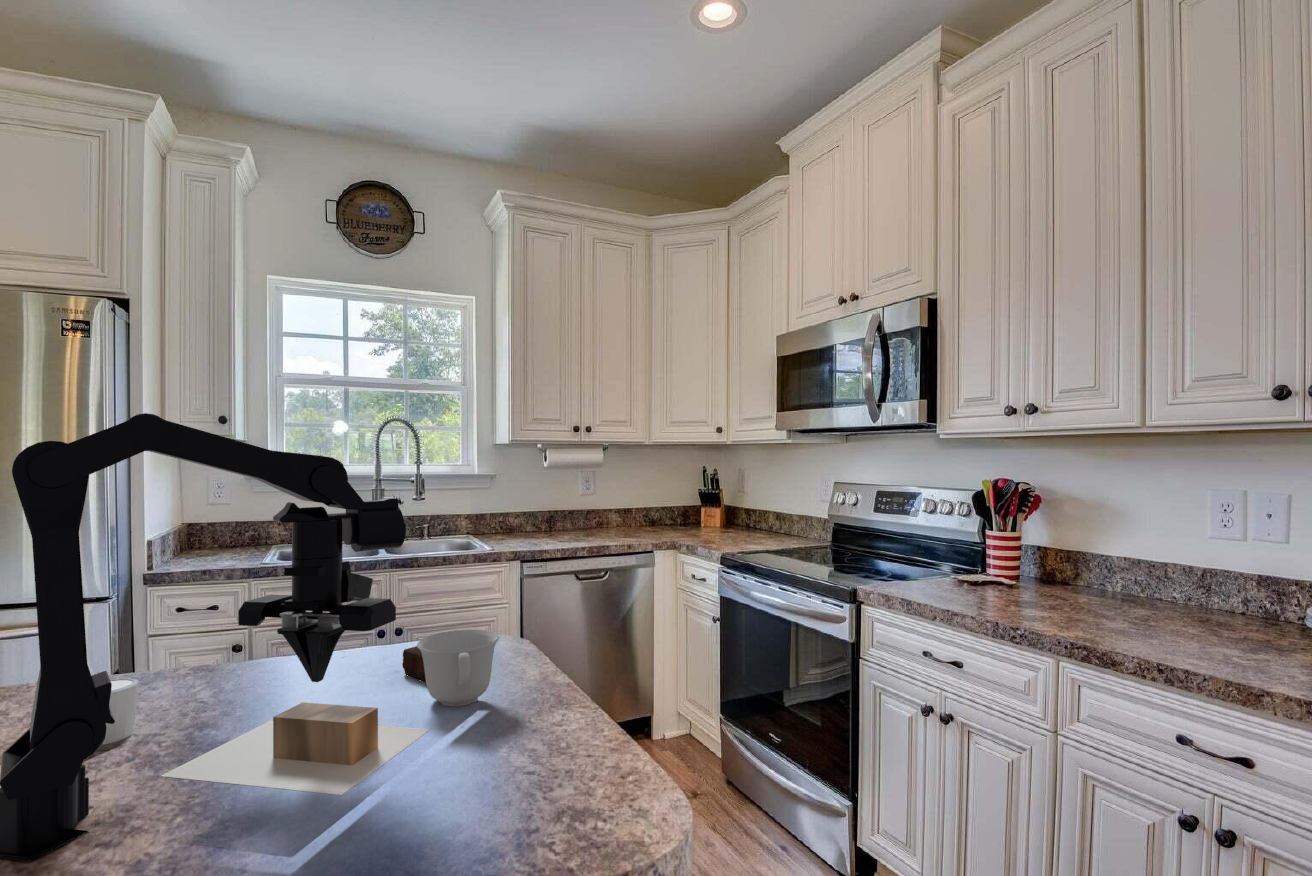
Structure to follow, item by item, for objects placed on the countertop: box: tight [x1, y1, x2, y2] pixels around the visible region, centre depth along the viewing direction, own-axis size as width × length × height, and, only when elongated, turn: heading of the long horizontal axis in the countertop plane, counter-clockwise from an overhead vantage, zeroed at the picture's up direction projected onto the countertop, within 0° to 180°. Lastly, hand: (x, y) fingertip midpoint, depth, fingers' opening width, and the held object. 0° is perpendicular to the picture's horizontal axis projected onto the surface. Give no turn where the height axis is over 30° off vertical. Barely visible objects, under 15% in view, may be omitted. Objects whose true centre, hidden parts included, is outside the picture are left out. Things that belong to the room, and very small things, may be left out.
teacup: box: [416, 629, 500, 707], centre depth 102 cm, size 12×15×10 cm
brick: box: [402, 645, 426, 684], centre depth 116 cm, size 11×4×5 cm, turn 52°
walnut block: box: [272, 702, 379, 765], centre depth 85 cm, size 5×5×11 cm
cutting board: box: [160, 719, 431, 796], centre depth 85 cm, size 18×24×1 cm
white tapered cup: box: [101, 678, 140, 746], centre depth 93 cm, size 7×7×7 cm
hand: (317, 681), depth 85 cm, fingers closed
